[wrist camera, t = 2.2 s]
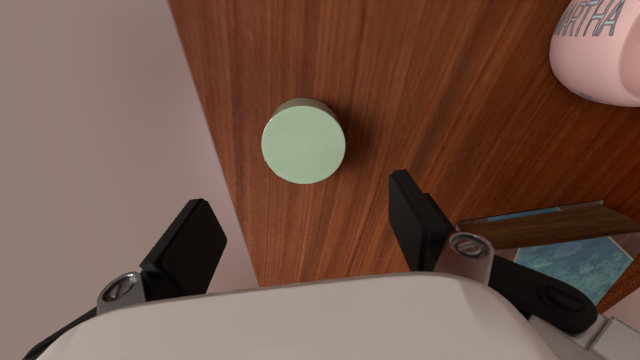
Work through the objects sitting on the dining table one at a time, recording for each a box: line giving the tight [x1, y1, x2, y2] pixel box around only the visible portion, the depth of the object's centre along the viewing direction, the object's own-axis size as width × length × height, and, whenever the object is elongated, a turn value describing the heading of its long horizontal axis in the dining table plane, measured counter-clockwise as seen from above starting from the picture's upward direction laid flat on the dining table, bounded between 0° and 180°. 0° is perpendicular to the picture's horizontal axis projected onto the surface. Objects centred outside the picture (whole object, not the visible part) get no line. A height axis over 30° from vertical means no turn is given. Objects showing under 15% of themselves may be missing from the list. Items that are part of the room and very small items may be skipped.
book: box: [456, 200, 640, 306], centre depth 31 cm, size 23×18×5 cm
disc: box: [261, 98, 346, 184], centre depth 20 cm, size 7×7×3 cm
